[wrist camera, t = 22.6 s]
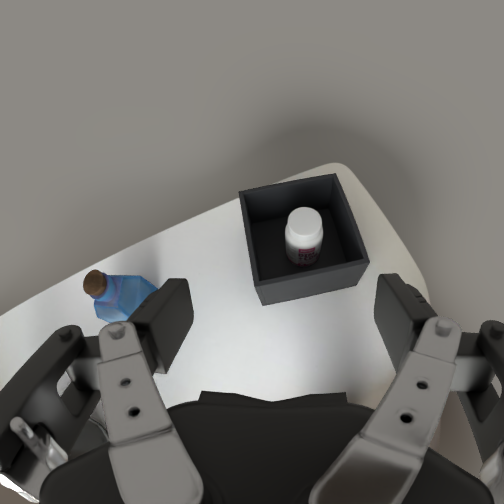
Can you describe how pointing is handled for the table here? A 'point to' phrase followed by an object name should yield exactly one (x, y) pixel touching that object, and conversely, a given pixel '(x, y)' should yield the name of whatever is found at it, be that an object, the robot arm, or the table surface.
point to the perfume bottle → (116, 294)
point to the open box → (274, 244)
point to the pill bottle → (303, 236)
